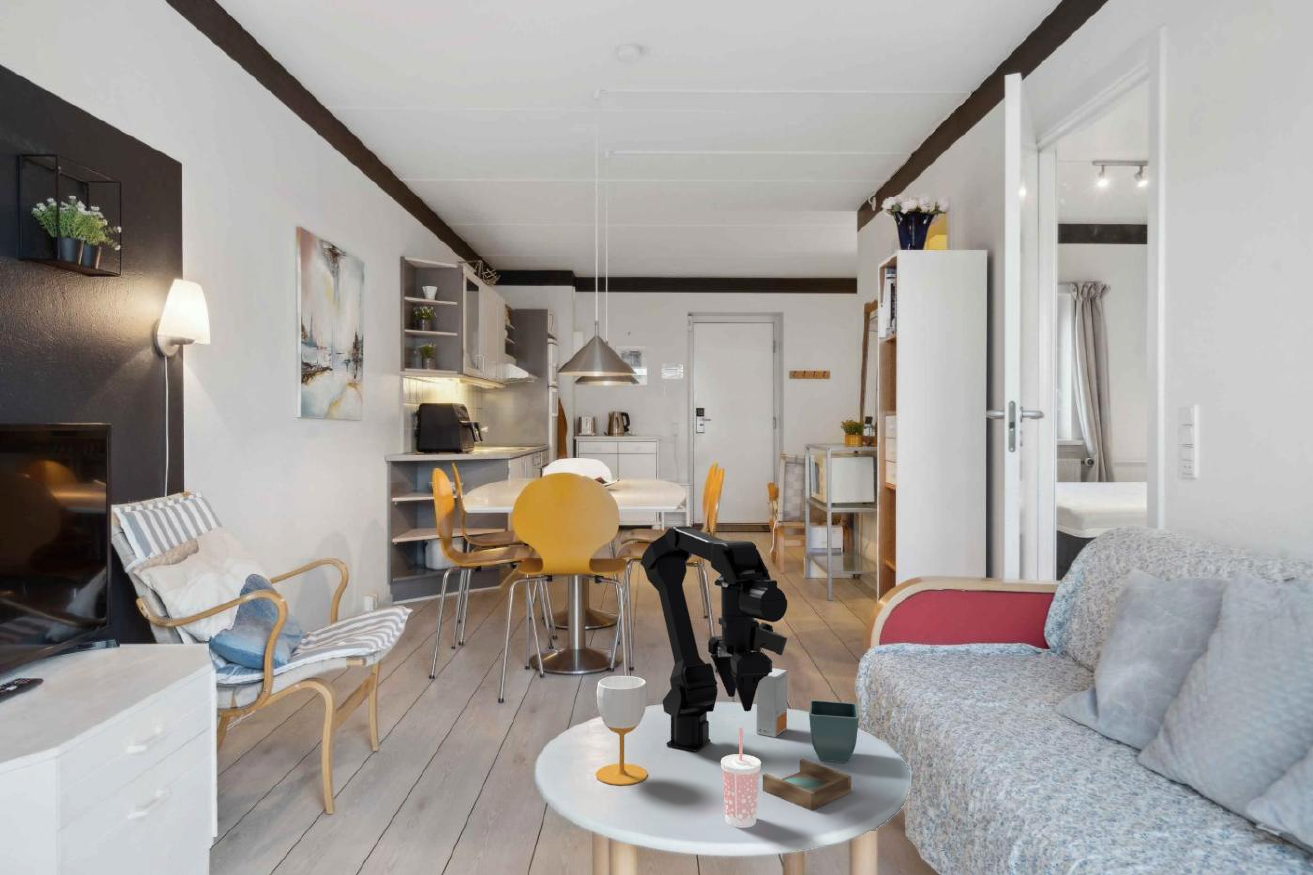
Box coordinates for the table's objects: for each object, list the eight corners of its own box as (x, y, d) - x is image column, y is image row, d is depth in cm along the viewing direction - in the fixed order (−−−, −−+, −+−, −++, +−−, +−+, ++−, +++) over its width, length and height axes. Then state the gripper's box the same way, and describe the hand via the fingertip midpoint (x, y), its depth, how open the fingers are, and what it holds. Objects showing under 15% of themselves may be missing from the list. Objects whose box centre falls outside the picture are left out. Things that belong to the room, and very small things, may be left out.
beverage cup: (766, 816, 125) (766, 725, 125) (753, 833, 120) (753, 737, 120) (728, 809, 128) (728, 719, 128) (714, 825, 122) (715, 731, 122)
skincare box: (775, 738, 160) (775, 676, 160) (755, 734, 162) (756, 673, 162) (787, 729, 165) (787, 669, 165) (768, 725, 167) (768, 666, 167)
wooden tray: (762, 790, 135) (762, 774, 135) (802, 773, 142) (802, 758, 142) (811, 810, 127) (811, 793, 127) (851, 791, 134) (851, 776, 134)
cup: (623, 761, 147) (623, 672, 148) (658, 775, 141) (658, 682, 141) (584, 774, 141) (585, 681, 141) (619, 790, 135) (620, 692, 135)
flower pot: (859, 768, 144) (859, 717, 145) (808, 764, 146) (808, 714, 146) (857, 750, 153) (857, 702, 153) (809, 747, 155) (809, 699, 155)
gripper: (800, 620, 135) (802, 715, 135) (763, 603, 154) (765, 687, 153) (736, 624, 133) (738, 720, 132) (706, 606, 151) (708, 690, 151)
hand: (739, 703), depth 142 cm, fingers open, 9 cm apart
